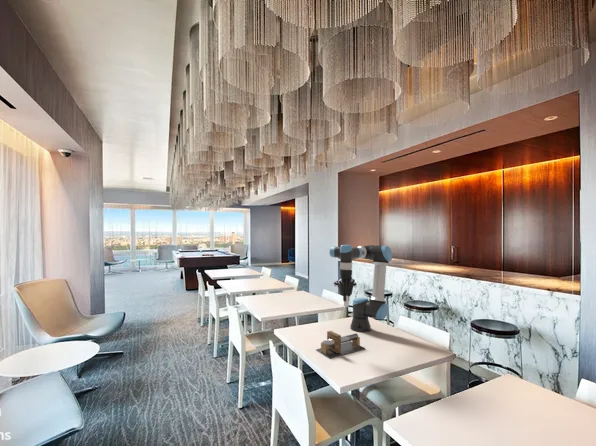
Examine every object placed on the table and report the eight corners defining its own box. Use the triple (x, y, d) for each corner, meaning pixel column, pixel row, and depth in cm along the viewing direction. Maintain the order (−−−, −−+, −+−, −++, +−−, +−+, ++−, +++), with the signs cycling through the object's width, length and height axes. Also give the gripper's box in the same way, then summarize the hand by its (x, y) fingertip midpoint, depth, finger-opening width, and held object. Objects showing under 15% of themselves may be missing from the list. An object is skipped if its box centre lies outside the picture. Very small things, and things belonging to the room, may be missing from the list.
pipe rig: (350, 342, 196) (350, 329, 196) (365, 349, 184) (365, 336, 184) (316, 350, 182) (316, 337, 182) (329, 358, 170) (329, 344, 170)
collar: (330, 346, 185) (330, 330, 185) (340, 352, 176) (341, 335, 177) (327, 347, 184) (327, 331, 184) (337, 353, 175) (337, 336, 175)
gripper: (350, 267, 193) (350, 303, 192) (334, 269, 186) (334, 306, 186) (357, 269, 187) (358, 306, 186) (341, 270, 180) (341, 308, 179)
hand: (346, 306), depth 186 cm, fingers closed
